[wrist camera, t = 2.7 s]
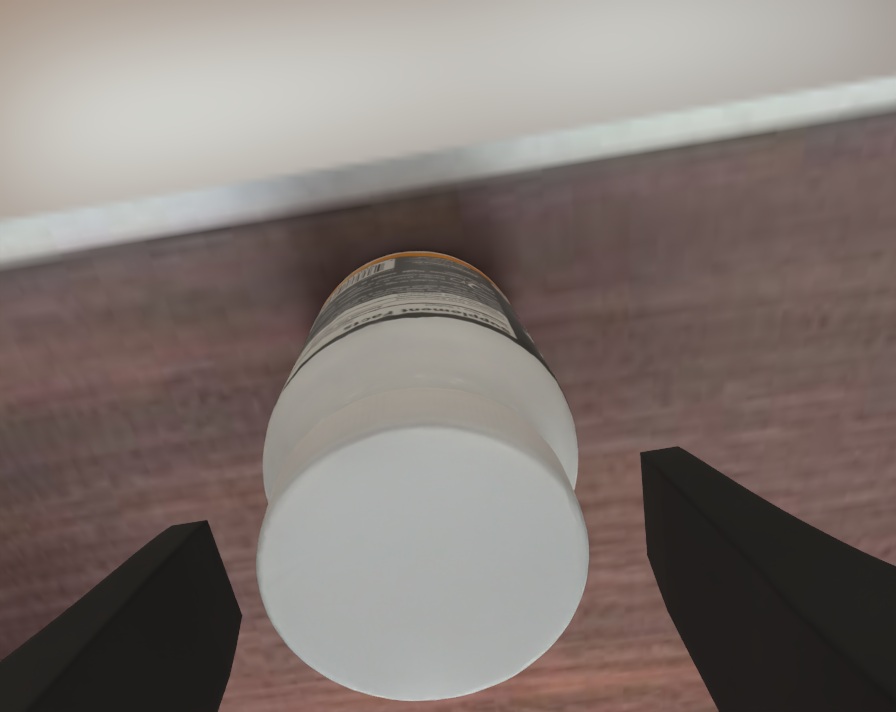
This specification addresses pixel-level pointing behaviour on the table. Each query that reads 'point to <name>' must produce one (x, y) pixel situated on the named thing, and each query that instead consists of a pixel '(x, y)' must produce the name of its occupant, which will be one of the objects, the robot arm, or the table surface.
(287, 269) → the table surface
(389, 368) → the pill bottle
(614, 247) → the table surface
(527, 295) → the table surface
